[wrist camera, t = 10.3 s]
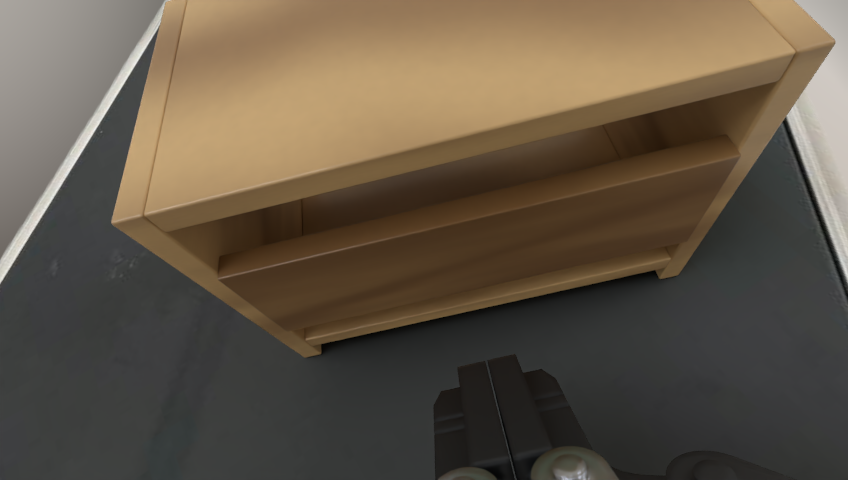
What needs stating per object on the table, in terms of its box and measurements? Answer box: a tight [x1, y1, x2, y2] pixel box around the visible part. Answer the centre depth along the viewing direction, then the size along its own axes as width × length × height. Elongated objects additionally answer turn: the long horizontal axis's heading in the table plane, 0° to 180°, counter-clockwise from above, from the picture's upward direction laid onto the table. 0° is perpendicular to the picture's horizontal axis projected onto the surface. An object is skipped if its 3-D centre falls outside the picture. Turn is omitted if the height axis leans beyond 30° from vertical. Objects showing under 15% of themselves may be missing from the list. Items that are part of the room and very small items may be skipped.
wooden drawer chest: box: [111, 0, 835, 358], centre depth 17 cm, size 9×16×11 cm, turn 99°
